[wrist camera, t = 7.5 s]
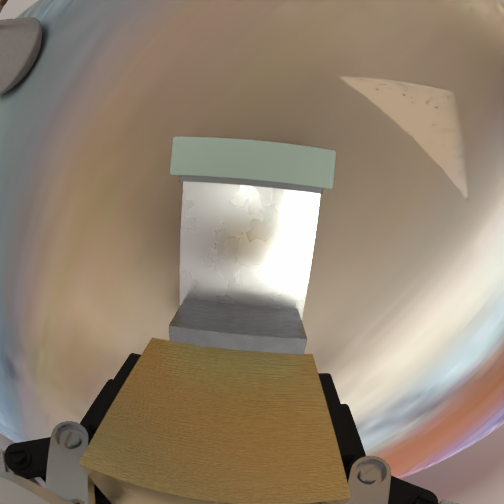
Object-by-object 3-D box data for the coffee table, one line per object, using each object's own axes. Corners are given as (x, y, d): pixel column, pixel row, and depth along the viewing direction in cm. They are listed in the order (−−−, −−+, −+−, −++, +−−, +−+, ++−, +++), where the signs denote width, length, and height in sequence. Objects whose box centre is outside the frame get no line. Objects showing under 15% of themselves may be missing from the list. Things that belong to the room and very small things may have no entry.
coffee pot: (-6, 113, 19) (-84, 108, 4) (5, 50, 16) (-58, 31, 2) (114, 39, 18) (28, -28, 3) (122, -23, 15) (68, -86, 1)
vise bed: (189, 141, 21) (167, 128, 15) (322, 152, 21) (343, 143, 15) (182, 317, 25) (164, 351, 19) (297, 328, 25) (307, 365, 19)
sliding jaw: (191, 146, 20) (173, 136, 15) (318, 157, 20) (336, 151, 15) (188, 181, 21) (169, 180, 16) (315, 192, 21) (331, 195, 16)
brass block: (152, 337, 9) (78, 462, 4) (312, 354, 9) (351, 497, 4) (161, 407, 10) (122, 514, 5) (293, 421, 10) (306, 536, 5)
